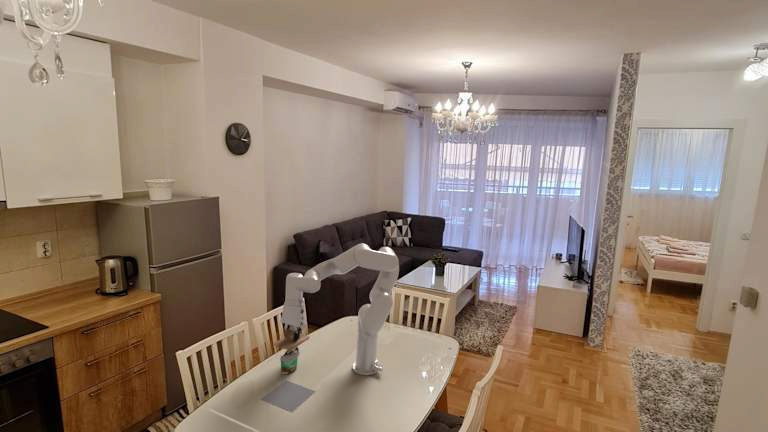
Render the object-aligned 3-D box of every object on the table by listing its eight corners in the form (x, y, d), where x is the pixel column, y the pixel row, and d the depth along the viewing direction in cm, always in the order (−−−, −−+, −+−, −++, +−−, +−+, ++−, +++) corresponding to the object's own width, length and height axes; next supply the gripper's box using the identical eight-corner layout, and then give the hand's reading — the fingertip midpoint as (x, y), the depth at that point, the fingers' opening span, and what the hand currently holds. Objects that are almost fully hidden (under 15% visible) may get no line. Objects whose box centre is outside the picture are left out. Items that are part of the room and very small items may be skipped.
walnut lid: (309, 338, 190) (309, 326, 189) (290, 350, 177) (290, 338, 176) (293, 333, 193) (294, 321, 192) (274, 345, 181) (274, 332, 180)
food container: (292, 379, 181) (293, 358, 180) (279, 376, 183) (280, 356, 181) (303, 365, 193) (304, 345, 192) (291, 363, 194) (291, 343, 193)
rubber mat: (315, 392, 173) (315, 391, 173) (291, 413, 159) (292, 412, 159) (285, 381, 180) (285, 380, 179) (260, 400, 165) (260, 399, 165)
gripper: (314, 302, 182) (312, 340, 185) (284, 294, 189) (283, 330, 192) (304, 307, 175) (302, 347, 178) (273, 298, 182) (272, 337, 185)
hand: (292, 338), depth 185 cm, fingers closed on walnut lid, 4 cm apart
